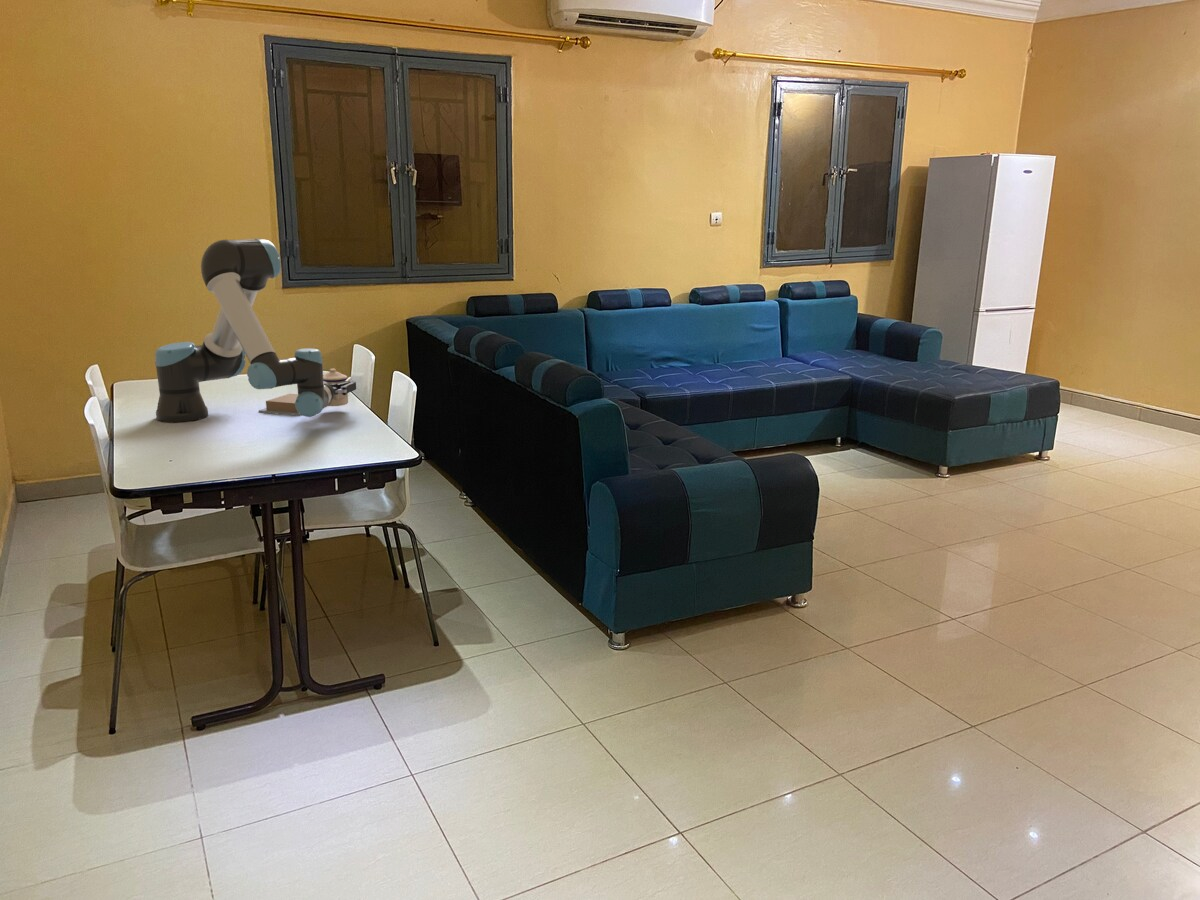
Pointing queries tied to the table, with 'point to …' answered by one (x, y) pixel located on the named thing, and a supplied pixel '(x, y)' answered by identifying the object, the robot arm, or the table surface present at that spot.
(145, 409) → the table surface
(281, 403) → the build base
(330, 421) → the table surface
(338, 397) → the teacup with lid
